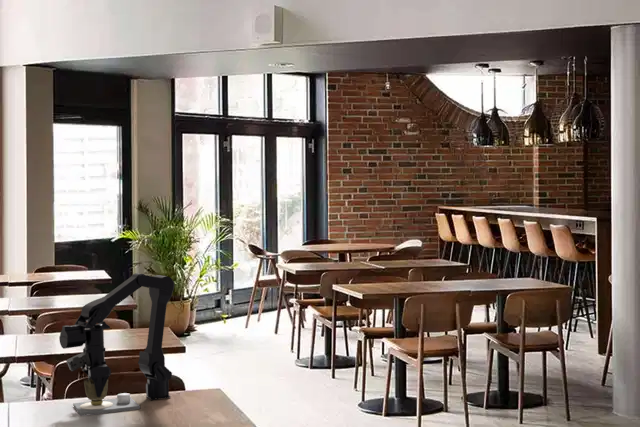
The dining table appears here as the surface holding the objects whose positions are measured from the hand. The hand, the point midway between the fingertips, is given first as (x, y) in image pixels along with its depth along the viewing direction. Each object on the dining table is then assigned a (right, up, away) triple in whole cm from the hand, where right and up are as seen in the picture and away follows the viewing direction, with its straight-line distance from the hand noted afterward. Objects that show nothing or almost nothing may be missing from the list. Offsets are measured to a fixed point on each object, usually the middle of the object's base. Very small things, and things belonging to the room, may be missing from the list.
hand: (96, 394), depth 298 cm
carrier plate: (+3, -4, +1) cm, 5 cm away
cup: (0, -3, 0) cm, 3 cm away
